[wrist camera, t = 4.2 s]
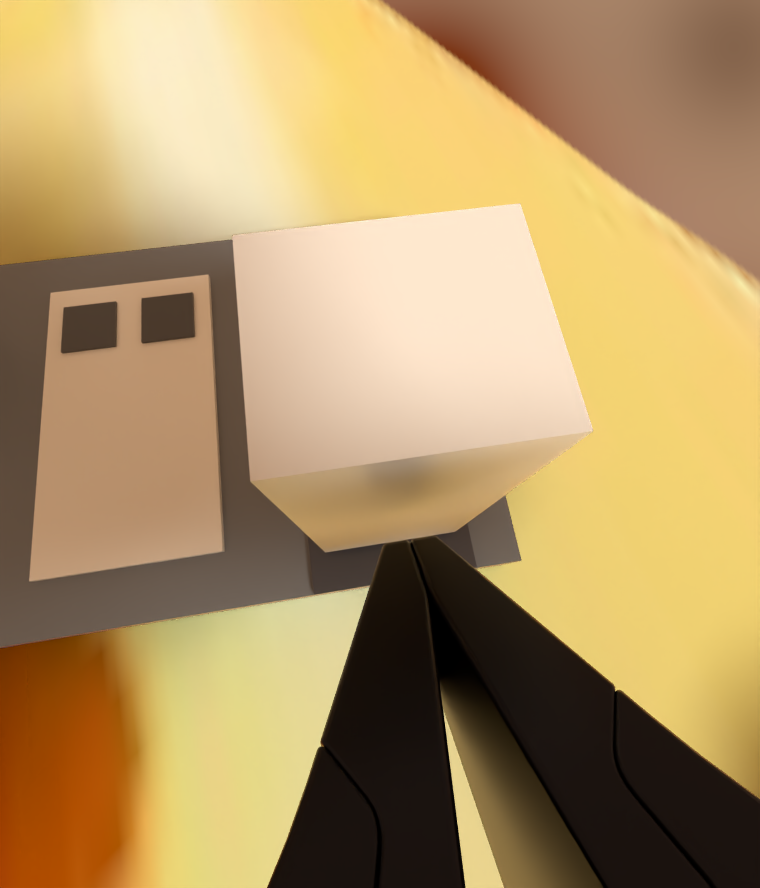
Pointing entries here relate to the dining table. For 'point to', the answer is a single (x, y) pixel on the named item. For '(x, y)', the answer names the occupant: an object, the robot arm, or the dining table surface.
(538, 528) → the dining table surface
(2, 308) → the switch bank
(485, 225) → the tab offwhite
